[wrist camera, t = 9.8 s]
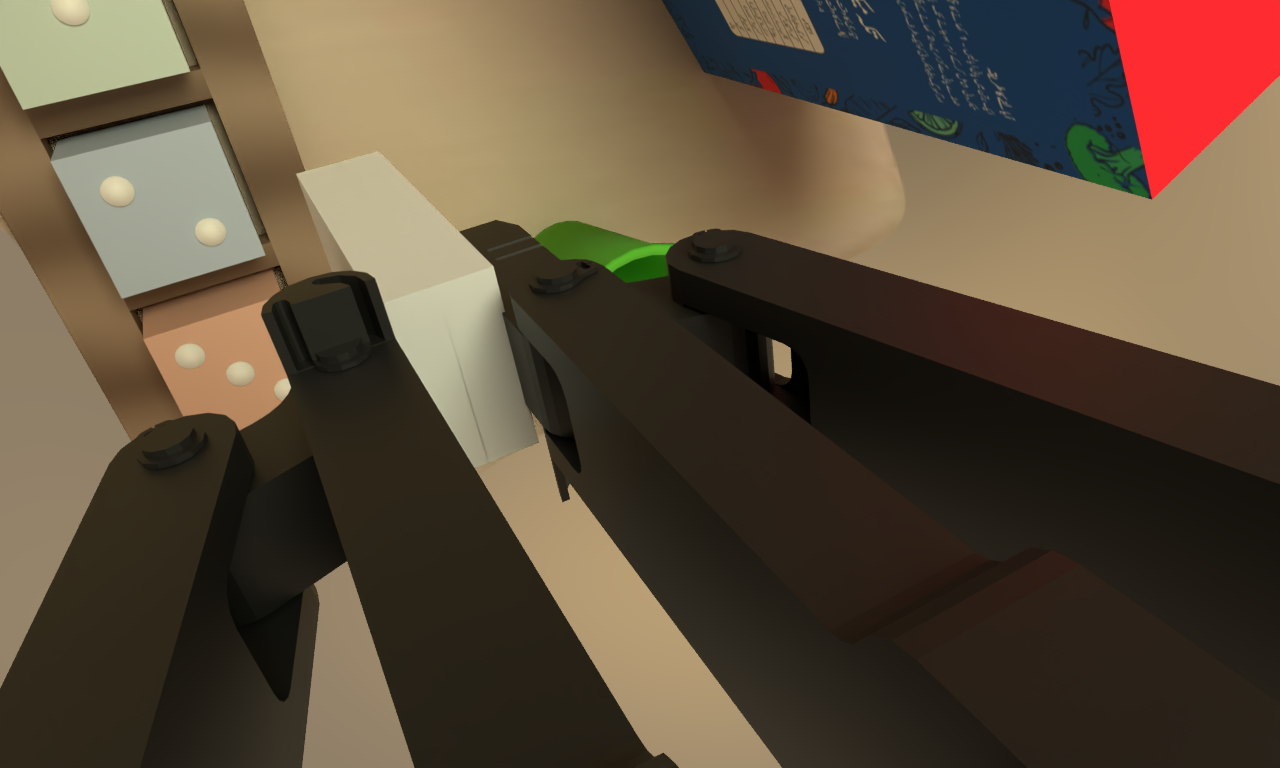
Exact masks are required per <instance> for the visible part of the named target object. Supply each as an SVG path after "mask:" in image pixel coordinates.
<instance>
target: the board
mask: <svg viewBox="0 0 1280 768" xmlns="http://www.w3.org/2000/svg"><path fill="white" fill-rule="evenodd" d="M173 1H174V4H175V6H176V9H177V11H178V13H179V16H180V18H181V21H182V23H183V26H184V28H185V31H186V33H187V36H188V38H189V41H190V43H191V46H192V48H193V51H194V53H195V56H196V58H197V61H198V63H199V65H194V66H190V67H189V69H190V72H186V73H181V74H177V75H173V76H168V77H164V78H160V79H155V80H151V81H147V82H142V83H138V84H133V85H129V86H125V87H120V88H116V89H112V90H107V91H103V92H99V93H94V94H90V95H86V96H81V97H77V98H73V99H68V100H64V101H60V102H55V103H51V104H46V105H42V106H38V107H33V108H29V109H25V110H23V109H22V107H21V105H20V103H19V101H18V99H17V97H16V95H15V93H14V91H13V90H12V88H11V86H10V84H9V82H8V80H7V78H6V76H5V74H4V72H3V70H2V69H1V67H0V213H1V214H2V216H3V218H4V220H5V221H6V223H7V225H8V227H9V228H10V230H11V232H12V233H13V235H14V237H15V239H16V240H17V242H18V244H19V246H20V247H21V249H22V251H23V253H24V254H25V256H26V258H27V260H28V261H29V263H30V265H31V267H32V268H33V270H34V272H35V274H36V275H37V277H38V279H39V281H40V282H41V284H42V286H43V287H44V289H45V291H46V293H47V295H48V296H49V298H50V300H51V301H52V303H53V305H54V307H55V309H56V310H57V312H58V314H59V315H60V317H61V319H62V320H63V322H64V324H65V326H66V328H67V329H68V331H69V333H70V335H71V336H72V338H73V340H74V341H75V343H76V345H77V347H78V348H79V350H80V352H81V354H82V356H83V357H84V359H85V361H86V362H87V364H88V366H89V368H90V369H91V371H92V373H93V375H94V377H95V378H96V380H97V382H98V383H99V385H100V387H101V389H102V391H103V392H104V394H105V396H106V397H107V399H108V401H109V403H110V404H111V406H112V408H113V410H114V411H115V413H116V415H117V416H118V418H119V420H120V422H121V424H122V425H123V427H124V429H125V431H126V432H127V434H128V436H129V438H130V439H131V441H132V440H134V439H135V438H136V437H138V435H139V434H140V433H142V432H143V431H145V430H147V429H149V428H150V427H152V428H155V426H154V425H157V424H159V423H161V422H164V421H166V420H175V419H178V418H181V417H183V415H182V413H181V411H180V409H179V407H178V405H177V403H176V401H175V399H174V397H173V396H172V394H171V392H170V390H169V388H168V386H167V384H166V382H165V380H164V378H163V376H162V375H161V373H160V371H159V369H158V367H157V365H156V363H155V361H154V359H153V357H152V355H151V354H150V352H149V350H148V348H147V346H146V344H145V342H144V340H143V324H142V322H141V320H140V318H139V316H138V314H137V312H136V310H135V309H138V308H141V307H145V306H148V305H151V304H154V303H158V302H161V301H164V300H167V299H171V298H174V297H177V296H180V295H184V294H187V293H190V292H194V291H197V290H200V289H203V288H207V287H210V286H213V285H216V284H220V283H223V282H226V281H229V280H233V279H236V278H239V277H242V276H246V275H249V274H252V273H255V272H259V271H262V270H265V269H268V268H272V267H275V266H278V265H280V267H281V269H282V272H283V274H284V277H285V279H286V281H287V284H288V286H289V285H292V284H294V283H297V282H299V281H302V280H305V279H307V278H310V277H313V276H318V275H322V274H326V273H330V272H332V270H331V268H330V265H329V262H328V259H327V257H326V254H325V251H324V249H323V246H322V243H321V240H320V238H319V235H318V232H317V230H316V227H315V224H314V221H313V219H312V216H311V213H310V211H309V208H308V205H307V203H306V200H305V197H304V194H303V192H302V189H301V186H300V184H299V181H298V178H297V175H296V174H297V173H301V172H304V171H305V169H304V166H303V164H302V161H301V158H300V155H299V153H298V150H297V147H296V144H295V142H294V139H293V136H292V133H291V131H290V128H289V125H288V122H287V120H286V117H285V114H284V111H283V108H282V106H281V103H280V100H279V97H278V95H277V92H276V89H275V86H274V84H273V81H272V78H271V75H270V73H269V70H268V67H267V64H266V62H265V59H264V56H263V53H262V51H261V48H260V45H259V42H258V40H257V37H256V34H255V31H254V28H253V26H252V23H251V20H250V17H249V15H248V12H247V9H246V6H245V4H244V1H243V0H173ZM209 98H213V100H214V103H215V105H216V108H217V110H218V113H219V115H220V118H221V120H222V123H223V125H224V128H225V130H226V133H227V135H228V138H229V140H230V143H231V145H232V147H233V150H234V152H235V155H236V157H237V160H238V162H239V165H240V167H241V170H242V172H243V175H244V177H245V180H246V182H247V185H248V187H249V190H250V192H251V195H252V197H253V200H254V202H255V205H256V207H257V210H258V212H259V214H260V217H261V219H262V222H263V224H264V227H265V229H266V232H267V233H265V234H262V235H258V236H259V239H260V241H261V244H262V247H263V249H264V252H265V256H262V257H258V258H255V259H252V260H248V261H245V262H242V263H239V264H235V265H232V266H229V267H225V268H222V269H219V270H215V271H212V272H209V273H205V274H202V275H199V276H195V277H192V278H189V279H186V280H182V281H179V282H176V283H172V284H169V285H166V286H162V287H159V288H156V289H152V290H149V291H146V292H142V293H139V294H136V295H133V296H129V297H126V298H123V299H122V298H121V296H120V294H119V292H118V290H117V288H116V287H115V285H114V283H113V281H112V279H111V277H110V275H109V273H108V271H107V269H106V267H105V265H104V264H103V262H102V260H101V258H100V256H99V254H98V252H97V250H96V248H95V246H94V244H93V243H92V241H91V239H90V237H89V235H88V233H87V231H86V229H85V227H84V225H83V223H82V222H81V220H80V218H79V216H78V214H77V212H76V210H75V208H74V206H73V204H72V202H71V200H70V199H69V197H68V195H67V193H66V191H65V189H64V187H63V185H62V183H61V181H60V179H59V178H58V176H57V174H56V172H55V170H54V168H53V166H52V164H51V162H50V161H51V158H52V155H53V150H52V148H51V146H50V144H49V142H48V140H47V138H48V137H52V136H56V135H60V134H64V133H68V132H72V131H77V130H81V129H85V128H89V127H93V126H97V125H101V124H106V123H110V122H114V121H118V120H122V119H126V118H131V117H135V116H139V115H143V114H147V113H151V112H155V111H160V110H164V109H168V108H172V107H176V106H180V105H184V104H189V103H193V102H197V101H201V100H205V99H209Z"/></svg>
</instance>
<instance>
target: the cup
mask: <svg viewBox="0 0 1280 768" xmlns="http://www.w3.org/2000/svg"><path fill="white" fill-rule="evenodd" d="M535 239H536V240H537V241H538V242H539V243H541V246H544V247H545V248H547V249H548V250H549V251H550V252H551V253H553V254H554V255H555V256H556V257H557V258H559V259H560V260H569V259H587V260H592V261H594V262H597V263H599V264H601V265H603V266H605V267H606V268H607V269H609V270H610V271H611V272H613V273H614V274H615V275H616V276H618V277H619V278H620V279H622V280H623V281H624V282H626V283H629V282H636V281H642V280H648V279H653V278H659V277H664V276H668V272H667V265H666V258H665V255H666V253H667V252H668V250H669V248H670V247H671V246H673V245H674V244H673V243H647V242H644V241H641V240H638V239H634V238H631V237H628V236H624V235H621V234H618V233H615V232H611V231H608V230H605V229H601V228H598V227H595V226H592V225H588V224H585V223H581V222H578V221H565V222H561V223H557V224H554V225H552V226H550V227H549V228H547V229H545V230H544V231H542V232H541V233H540V234H539V235H538V236H537V237H536V238H535Z"/></svg>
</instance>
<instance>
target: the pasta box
mask: <svg viewBox="0 0 1280 768" xmlns="http://www.w3.org/2000/svg"><path fill="white" fill-rule="evenodd" d="M662 1H663V3H664V4H665V6H666V8H667V10H668V11H669V13H670V15H671V16H672V18H673V20H674V21H675V23H676V25H677V27H678V28H679V30H680V32H681V33H682V35H683V37H684V38H685V40H686V42H687V43H688V45H689V47H690V49H691V50H692V52H693V54H694V55H695V57H696V59H697V60H698V62H699V64H700V66H701V67H702V69H703V71H704V72H706V73H710V74H713V75H717V76H720V77H724V78H727V79H731V80H734V81H738V82H741V83H745V84H748V85H752V86H755V87H759V88H762V89H766V90H769V91H773V92H776V93H780V94H783V95H787V96H790V97H794V98H797V99H801V100H804V101H808V102H811V103H815V104H818V105H822V106H825V107H829V108H832V109H836V110H840V111H843V112H847V113H850V114H854V115H857V116H861V117H864V118H868V119H871V120H875V121H878V122H882V123H885V124H889V125H892V126H896V127H900V128H903V129H907V130H910V131H913V132H917V133H920V134H924V135H928V136H931V137H935V138H938V139H941V140H945V141H948V142H952V143H955V144H959V145H962V146H966V147H970V148H973V149H977V150H981V151H984V152H987V153H991V154H994V155H998V156H1001V157H1005V158H1008V159H1012V160H1015V161H1019V162H1022V163H1026V164H1030V165H1033V166H1036V167H1040V168H1043V169H1047V170H1051V171H1054V172H1057V173H1061V174H1065V175H1068V176H1071V177H1075V178H1078V179H1082V180H1086V181H1089V182H1092V183H1096V184H1099V185H1103V186H1107V187H1110V188H1114V189H1117V190H1121V191H1124V192H1128V193H1131V194H1135V195H1138V196H1142V197H1145V198H1149V199H1153V198H1154V197H1155V196H1156V195H1157V194H1158V193H1159V192H1160V191H1162V190H1163V189H1164V188H1165V187H1166V186H1167V185H1168V184H1169V183H1170V182H1171V181H1172V180H1173V179H1174V178H1175V177H1176V176H1177V175H1178V174H1179V173H1180V172H1181V171H1182V170H1183V169H1184V168H1185V167H1186V166H1187V165H1188V164H1189V163H1190V162H1191V161H1192V160H1193V159H1194V158H1195V157H1196V156H1197V155H1198V154H1200V153H1201V151H1202V150H1204V149H1205V147H1207V146H1208V145H1209V144H1210V143H1211V142H1212V141H1213V140H1214V139H1215V138H1216V137H1217V136H1218V135H1219V134H1220V133H1221V132H1222V131H1223V130H1224V129H1225V128H1226V127H1227V126H1228V125H1229V124H1230V123H1231V122H1232V121H1233V120H1234V119H1235V118H1236V117H1238V115H1240V114H1241V113H1242V112H1243V111H1244V110H1245V109H1246V108H1247V107H1248V106H1249V105H1250V104H1251V103H1252V102H1253V101H1254V100H1255V99H1256V98H1257V97H1258V96H1259V95H1260V94H1261V93H1262V92H1263V91H1264V90H1265V89H1266V88H1267V87H1268V86H1269V85H1270V84H1271V83H1272V82H1273V81H1274V80H1275V79H1276V78H1278V77H1279V76H1280V0H662Z"/></svg>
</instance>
